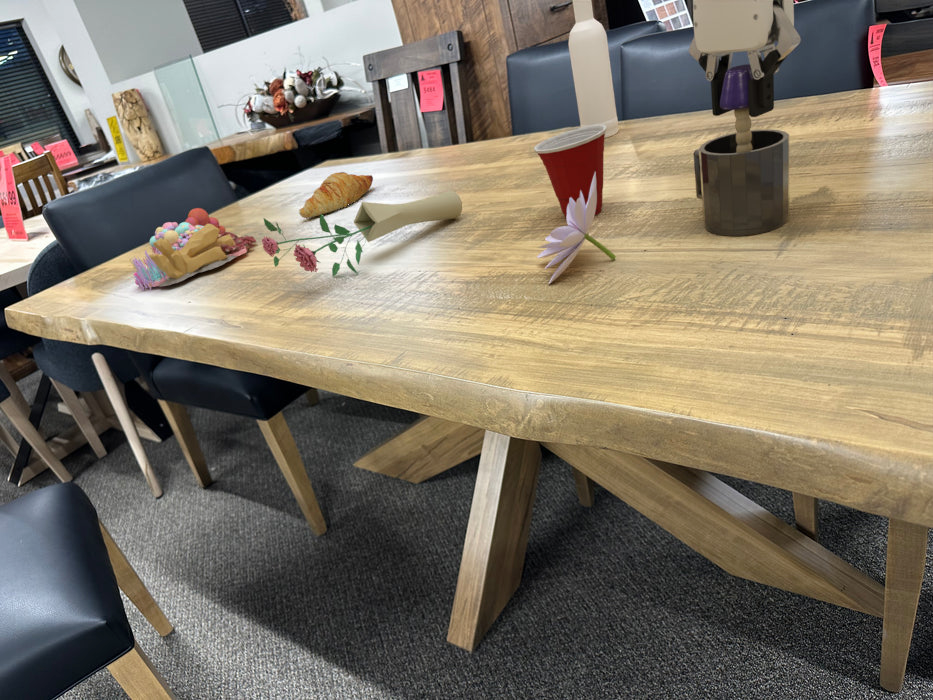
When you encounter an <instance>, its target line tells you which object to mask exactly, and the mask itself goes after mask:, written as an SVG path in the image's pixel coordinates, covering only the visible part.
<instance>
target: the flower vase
mask: <svg viewBox="0 0 933 700" xmlns="http://www.w3.org/2000/svg"><path fill="white" fill-rule="evenodd" d="M462 211H463V201H462V199H461V196H460V195H459V194H458V193H457V192H456V191H455V190H447V191H445V192H441V193H438V194H435V195H432V196H429V197H425V198H421V199H418V200H414V201H410V202H404V203H396V204H395V203H394V204H391V203H379V202H367V201H362V202H361V204H360V206H359V208H358V211H357V213H356V215H355V218H354V221H353V223H354V225H355V226H356V228H357V230H356V231H354V232H351V231H350V230H349V229H347V228H346V227H344V226H341V225H338V224H334V226H333V228H334V232H335V234H332V233H331V230H330V227H329V224H328V222H327V220H326V218H325V216H324V214H322V213H321V215H319V226H320V229H321V231H322V232H325V233H329V234H330V235H324V236H315V237H304V238H295V239H289V240H287V239H286V237H285V235H284V231H283V229H281V228H280V226H279V223H278V222H275V225H276V226H275V225H274V224H273V223H272V222H271V221H269V220H268V219H266V218H265V217H263V223H264V226H265V227H266V229H267V230H269V232H278V234H279V235H281V236H282V237H283V238H284V240H285V241H280V242H278V241H276V239H274V238H271V237H270V236H263V238H261V241H262V242H261V243H262V248H263V249H264V252H265V253H266V254H268V255H269V257H272V258H273V265H274V267H275V268H276V267H278V266H279V263H280V260H281V259H282V258H283V257H285V256H286V253H284V254H283V255H282V256H281V257H280V258H279V257H278V256H277V255H276V254H280V251H281V248H280V247H279V245H282V244H287V243H292V242H295V243H294V244H293V245H292V246H291V247H290V248H286V249H284V251H286V250H287V252H289V251H290V250H291V249H293V248H294V246H295V248H294V250H293V252H294V253H293V257H295V261H296V262H298V263H299V267H301V268H303V270H304V271H306V272H311V273H317V272H318V270H319V268H317V266H318V265H317V263H319V264H321V261H319V259H318V258H317V257H316V254H317V252H319V251H321V250H322V249H324V248H327V247H328V249H329V250H330V251H331V252H332V253H335V254H336V253H337V251H338V249H339V247H338V246H337V244H339V245H342V244H343V242H344V241H345V239H346V238H348V240H347V243H346V246H344V247H342V249H344V251H343V254H342V257H341V261H340V263H338V262H334V263H333V265H332V268H331V274H332V277H335V276H336V275H337V274H338V272H339V271H340V270H341V269H340V268H341V264H342V262H343V259H344V256H345V253H347V251H346V249H347V246H348V243H349V242H350V240H351V238H352V237H353V235H356V234H358V233H361V235H362V236H363V238H361V239H360V240H359V239H357V241H356V242H357V243H356V245H355V247H354V249H355V251H356V252H355V261H356V262H357V263H356V264H357V265H360V261H361V257H362V256H361V255H362V253H363V247H364V246H365V245H366V242H367V243H370V242H372V241H375V240H377V239H379V238H381V237H383V236H385V235H388V234H390V233H392V232H394V231H397V230H399V229H401V228H403V227H406V226H408V225H413V224H414V225H415V224H420V223H427V222H435V221H436V222H438V221H446V220H456V219H457V218H459V217H460V216H461V214H462ZM455 218H456V219H455ZM325 238H332V240H333V241H330V242H328V243H326V244H324V245H322V246H320V247H318V248H316V249H315V250H311V249H310V248H309V247H306V246H305V244H302V245H303V246H301V244H297V243H298V242H300V241H307V240H308V241H309V240H318V239H325ZM363 239H365V243H364V244H363V245H361V243H360V242H361V241H362V240H363ZM336 243H337V244H336ZM346 256H347V260H346V265H347V267H348V268H349V269H350V270H351V271H352V272H353V273H355V274H357V275H359V273H358V270H356V268H355V267H354V265H353V264H352V263H351V260H350V259H349V256H348V254H346Z"/></svg>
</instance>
